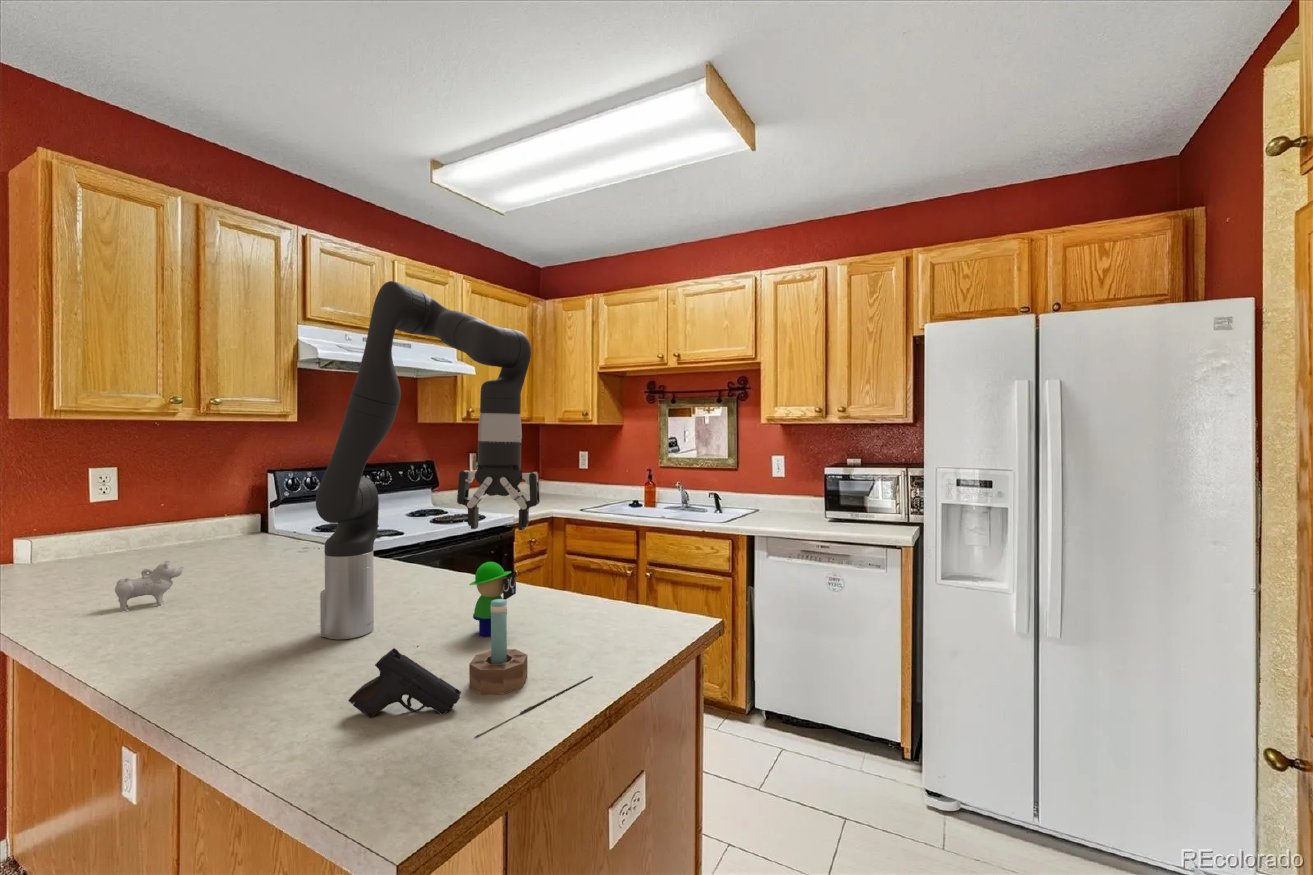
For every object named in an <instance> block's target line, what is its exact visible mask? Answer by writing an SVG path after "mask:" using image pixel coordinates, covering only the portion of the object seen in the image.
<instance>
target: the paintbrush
mask: <svg viewBox="0 0 1313 875" xmlns="http://www.w3.org/2000/svg"><path fill="white" fill-rule="evenodd" d="M592 678H594V676H592V675H591V676H589V677H587V678H585V679H583V680H580V681H579V682H578V683H576V684H573V685H571V686H569V687H567V688H566V689H563V690H562V691H559V692H557V693H555V694H553V695H552V696H549V697H547V698H546V699H543V700H542V701H539V702H538V703H535V704H534V705H532V706H529V707H527V708H525V709H523V710H522V711H520V712H519V713H518V714H516V715H515V716H513V717H511V718H509V719H507V720H505V721H502V722H500V723H498V724H497V725H495V726H493V727H491V728H489V729H487V730H485V731H483V732H481V733H479V734H477V735H475V736H474V738H479V737H480V736H481V735H484V734H485V733H487V732H490V731H491V730H493V729H495V728H497V727H499V726H502V725H503V724H505V723H507V722H508V721H510V720H513V719H514V718H516V717H518V716H522V715H524V714H526V713H527V712H530V711H532V710H534V709H536V708H537V706H538V707H539V706H541V705H543V704H545V703H547V702H548V701H547V700H549V701H551V700H553V699H555V698H556V697H559V696H560V695H562V694H564V693H566V692H568V691H570V690H571V689H573V688H575V687H577V686H580V685H581V684H583V683H585V682H587V681H588V680H590V679H592ZM565 691H566V692H565ZM555 696H556V697H555ZM554 697H555V698H554ZM552 698H553V699H552ZM546 701H547V702H546ZM544 702H545V703H544Z"/></svg>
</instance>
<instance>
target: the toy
mask: <svg viewBox="0 0 1313 875" xmlns="http://www.w3.org/2000/svg"><path fill="white" fill-rule="evenodd" d="M475 572H476V573H475V576H474V579H475V580H474V581H472V582H469V586H474V585H476V588H477V590H478V593H479V594H480V596H479V598H478V599H477V601H476V602H475V607H474V611H473V613H472V619H474V620H475V621H478V631H479V632H478V634H479V637H481V638H491V601H492V600H496V599H505V600H507V599H509V598H511V597H513V596H514V595H515V594H516V593H517V573H516V572H515V573H513V574H511V573H512V571H511V570H509V571H505V570H504V568H503V567H502V566H501V565H500V564H499V563H497V562H494V561H486V562H484V563H482V564H481V565H480V566H478V568H477V570H476V571H475ZM509 574H511V575H509ZM508 575H509V576H508ZM507 576H508V577H507Z"/></svg>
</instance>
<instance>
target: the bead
mask: <svg viewBox="0 0 1313 875" xmlns="http://www.w3.org/2000/svg"><path fill="white" fill-rule="evenodd" d="M468 666H469V674H468V675H469V678H468V679H469V682H468V684H469V688H470V689H472V690H473V691H475V692H476V693H478V694H480V695H505V694H507V693H510V692H513V691H516V690H519V689H521V688H523V687H524V685H525V684H526V682H527V679H528V654H527V653H525V652H523V651H520V650H518V649H515V648H507V662H506V663H503V664H491V650H488V651H485V652H482V653H481V652H480V653H478V654H475V656H473V658H472V660H471V661H470V662H469V665H468Z"/></svg>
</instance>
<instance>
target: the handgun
mask: <svg viewBox="0 0 1313 875" xmlns="http://www.w3.org/2000/svg"><path fill="white" fill-rule="evenodd" d="M374 666H375V668H377V669H378V671H379V675H378V676H376V677H375V678H372V679H371V680H369V681H367V682H366V683H364V684H363V685H361V687H360V688H358V689H357V690H356V691H355V692H354V693H353V694H352V695H351V697H350V698H348V699H347V700H348V702H349V703H350V704H351V705H352V706H353V707H354V708H355V709H357V710H359V711H360V712H361V713H362V714H364V715H365V716H367V717H368V718H373V717H375V715H377V714H379V713H380V712H382V710H384V709H385V708H386V707H388V706H390V705H392V704H394V703H399V704H400V705H401V706H403V708H405V709H406V710H408V711H409V712H411V713H419V712H420V711H422V709H423V710H424V708H425V707H426V708H431V709H433V710H434V711H436V712H437V713H439V714H441V715H445V714H446V713H449V711H451V710H452V709H453V707H454V705H456V704H457V703H458V702H459V700H460V698H461V695H462V691H461V690H460V689H458V688H456V687H454V685H452V684H450V683H448V682H447V681H446V680H444V679H443V678H441V677H440V678H439V677H438V676H437V675H435V674H434V673H432V672H431V671H430V670H428V669H426V668H425V667H423V666H421V665H420V664H418V663H417V662H416V661H414V660H413V659H411V658H410V657H408V656H406V654H402V653H400V652H399V650H397V648H395V647H393V648H392V649H391V650H390V651H388V652H387V653H386V654H384V655H383V656H382V657H381V658H380V659H379V660H378V661H377V662H376V663H375V664H374ZM403 696H408V697H407V698H406V702H405V701H404V700H403ZM412 699H414V700H416V701H417V702H419V703H421V704H422V705H421V706H420V707H418V708H413V707H412V703H411V700H412Z"/></svg>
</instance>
